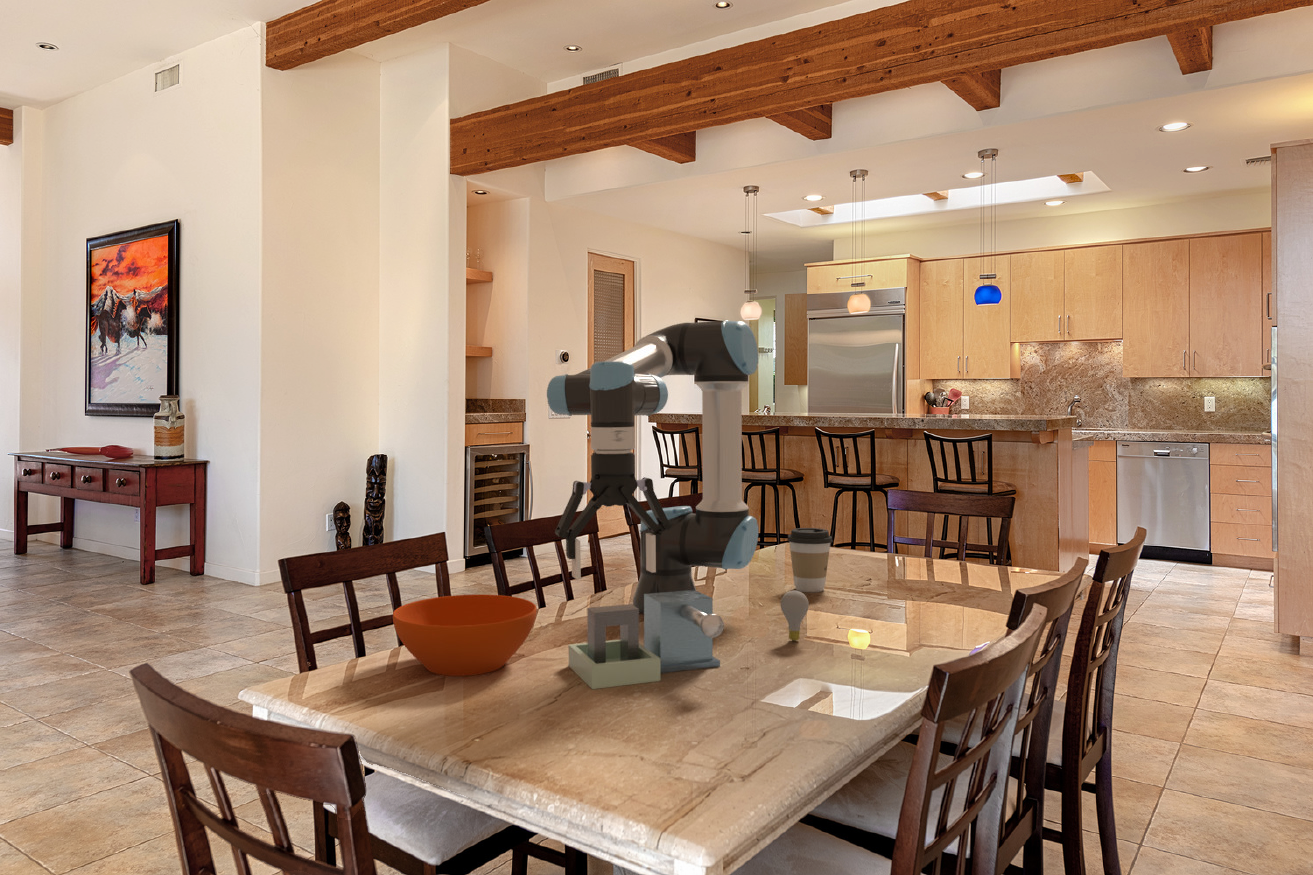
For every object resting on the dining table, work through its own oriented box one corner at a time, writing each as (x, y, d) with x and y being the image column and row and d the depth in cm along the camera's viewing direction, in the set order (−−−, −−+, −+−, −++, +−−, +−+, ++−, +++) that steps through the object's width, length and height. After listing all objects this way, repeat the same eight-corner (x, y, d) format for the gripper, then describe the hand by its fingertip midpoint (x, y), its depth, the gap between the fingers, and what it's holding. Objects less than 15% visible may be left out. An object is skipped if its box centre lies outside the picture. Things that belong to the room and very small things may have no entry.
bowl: (410, 694, 143) (409, 632, 142) (380, 656, 165) (380, 602, 165) (557, 673, 154) (557, 616, 154) (511, 639, 176) (511, 589, 176)
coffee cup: (836, 594, 219) (836, 533, 219) (790, 594, 219) (790, 533, 219) (828, 584, 231) (828, 527, 230) (784, 584, 231) (784, 527, 230)
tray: (568, 665, 158) (568, 644, 158) (631, 658, 163) (631, 638, 163) (592, 689, 145) (592, 665, 145) (660, 680, 150) (660, 658, 150)
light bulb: (807, 645, 172) (808, 594, 172) (779, 643, 173) (779, 592, 173) (808, 638, 177) (809, 588, 177) (781, 636, 179) (781, 587, 178)
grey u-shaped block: (587, 667, 154) (587, 607, 154) (630, 663, 157) (630, 604, 157) (594, 674, 151) (594, 612, 150) (638, 669, 154) (638, 608, 153)
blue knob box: (637, 658, 163) (637, 593, 163) (696, 651, 168) (697, 588, 167) (679, 690, 145) (680, 617, 144) (745, 682, 149) (746, 611, 149)
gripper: (547, 455, 145) (549, 584, 146) (688, 450, 154) (689, 572, 155) (536, 452, 152) (538, 576, 153) (671, 448, 161) (672, 564, 162)
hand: (614, 574), depth 154 cm, fingers open, 13 cm apart
